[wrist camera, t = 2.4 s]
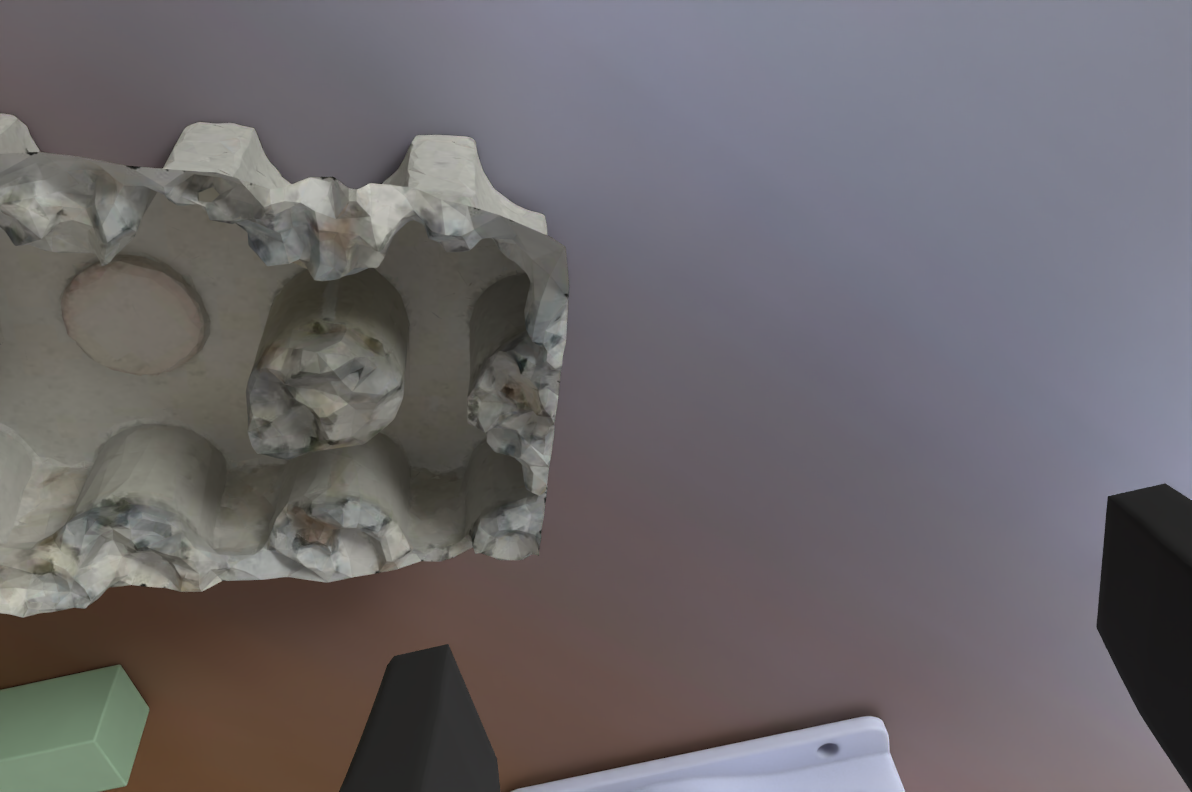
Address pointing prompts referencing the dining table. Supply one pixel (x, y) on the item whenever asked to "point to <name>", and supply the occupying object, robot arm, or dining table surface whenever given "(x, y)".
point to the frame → (71, 732)
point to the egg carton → (266, 368)
